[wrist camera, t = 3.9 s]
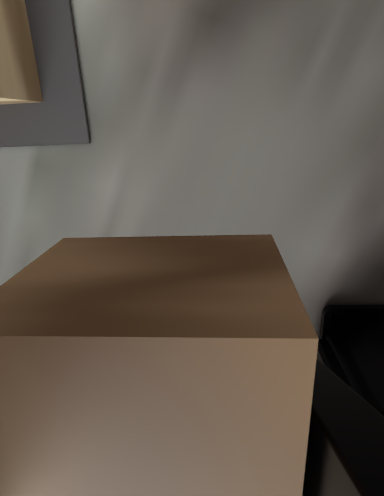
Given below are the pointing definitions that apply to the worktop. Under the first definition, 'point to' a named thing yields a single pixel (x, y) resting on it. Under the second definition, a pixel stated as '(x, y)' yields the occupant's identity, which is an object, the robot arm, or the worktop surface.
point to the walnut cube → (155, 370)
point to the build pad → (50, 83)
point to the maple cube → (17, 56)
